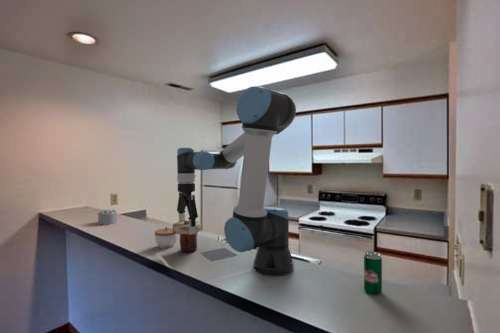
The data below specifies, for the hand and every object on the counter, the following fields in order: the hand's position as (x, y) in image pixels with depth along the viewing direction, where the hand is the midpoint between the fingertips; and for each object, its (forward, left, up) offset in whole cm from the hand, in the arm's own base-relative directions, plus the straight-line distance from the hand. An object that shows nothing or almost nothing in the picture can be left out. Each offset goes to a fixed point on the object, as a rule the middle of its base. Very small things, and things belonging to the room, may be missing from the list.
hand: (187, 230), depth 119 cm
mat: (-11, -10, -10) cm, 18 cm away
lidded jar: (+15, +5, -10) cm, 19 cm away
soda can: (-66, -36, -10) cm, 76 cm away
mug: (0, 0, -10) cm, 10 cm away
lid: (0, 0, 0) cm, 0 cm away
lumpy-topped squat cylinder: (+88, +24, -10) cm, 92 cm away
